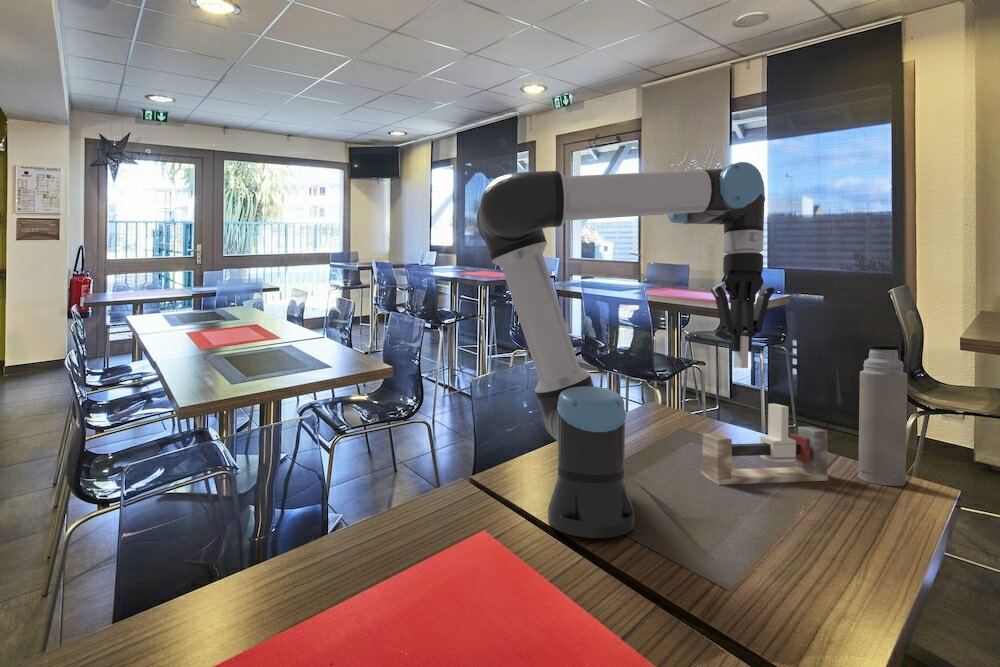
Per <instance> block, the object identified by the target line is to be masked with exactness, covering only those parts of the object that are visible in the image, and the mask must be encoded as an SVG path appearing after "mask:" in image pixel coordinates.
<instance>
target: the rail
mask: <svg viewBox="0 0 1000 667" xmlns="http://www.w3.org/2000/svg"><path fill="white" fill-rule="evenodd" d="M788 438H790V439H793V440H796V461H797V466H789V467H782V466H781V467H763V468H762V467H759V468H758V467H756V468H732V466H733V465H732V460H733V459H732V457H747V456H748V457H749V456H752V457H753V456H760V455H770V444H767V443H736V444H735V443H732V438H730V437H728V436H725V435H723V434H719V433H717V432H710V433H709V432H708V433H707V432H706V433H705V432H704V433H703V432H702V470H700V475H701V474H703V475H704V476H705V477H704V476H703V477H704V478H706V479H708V480H710V481H711V482H713V483H715V484H716V485H719V486H720V485H744V484H745V485H746V484H747V485H749V484H771V483H773V484H774V483H777V484H778V483H797V482H798V483H799V482H821V481H822V482H823V481H829V474H828V430H825V429H821V428H817V427H814V426H797V434H795V433H788Z"/></svg>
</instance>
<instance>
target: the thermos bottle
mask: <svg viewBox="0 0 1000 667" xmlns="http://www.w3.org/2000/svg"><path fill="white" fill-rule="evenodd" d="M899 349H900V348H899V345H892V344H871V345H869V353H868V358H867V359H865V360H864V361H863V364H862V365H863V370H861V371H859V401H858V402H859V406H858V407H859V408H858V409H859V410H858V411H859V412H858V413H859V415H858V421H859V422H858V475H857V476H858V478H859V479H860V480H861V481H863V482H866V483H871V484H873V485H874V484H875V485H881V486H889V487H899V486H900V487H901V486H905V485H906V484H907V435H908V434H907V430H908V428H907V426H908V425H907V424H908V422H907V421H908V373H907V372H904V367H905V365H904V362H903V361H902V360H900V359H899V352H898V350H899Z"/></svg>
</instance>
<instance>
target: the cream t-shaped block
mask: <svg viewBox="0 0 1000 667" xmlns="http://www.w3.org/2000/svg"><path fill="white" fill-rule="evenodd" d="M767 406H768V410H767V417H768V418H767V436H765V435H763V436H761V435H760V440H759V442H760V443H767V444H770V455H759V457H760V458H762V459H764V460H767V461H770V462H771V463H787V462H788V463H790V462H792V463H793V462H796V461H797V460H796V440H793V439H790V438H789V406H787V405H782V404H778V403H768V405H767Z"/></svg>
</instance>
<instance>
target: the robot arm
mask: <svg viewBox="0 0 1000 667" xmlns="http://www.w3.org/2000/svg"><path fill="white" fill-rule="evenodd" d="M765 194H766V193H765V182H764V179H763V176H762V173H761V172H760V170H759V168H757V166H755V165H753V164H752V163H750V162H746V161H737V162H735V163H731V164H729V165H726V167H724V168H709V169H697V170H696V169H694V170H675V171H674V170H673V171H654V172H653V171H652V172H651V171H649V172H631V173H610V174H607V173H606V174H587V175H569V176H568V175H565V174H564V173H563V172H562V171H561V170H544V171H543V170H541V171H540V170H539V171H520V172H519V171H517V172H512V173H506V174H503V175H501V176H498V177H497V178H495V179H494V180H492V181H491V182H490V183H489V184H488V185H487V186H486V188H485V190H483V194H482V196H481V199H480V204H479V207H478V209H477V214H476V226H477V229H478V233H479V235H480V236H481V237H482V240H484V242H485V245H486V249H487V250H488V254H489V256H490V260H491V262H492V264H495V265H497V267H500V269H502V272H503V275H504V279H505V282H506V284H507V288H508V289H509V293H510V296H511V299H512V302H513V305H514V308H515V311H516V315H517V316H518V320H519V323H520V326H521V327H520V328H521V330H522V332H523V334H524V335H523V336H524V338H525V341H526V345H527V347H528V350H529V353H530V356H531V360H532V362H533V366H534V368H535V371H536V374H537V378H538V382H537V384H536V386H535V388H534V393H535V396H536V398H537V401H538V404H539V407H540V419H541V423H542V425H543V427H544V428H545V431H546V432H547V433H548V434H549V435H550V437H551V438H553V439H554V440H555V441H556V442H557V473H558V474H557V479H556V483H555V485H554V488H553V492H552V494H551V495H552V496H551V498H550V501H549V503H548V508H547V522H548V524H549V525H550V526H551V527H552V528H553V529H555V530H557V531H559V532H562V533H563V534H566V535H571V536H574V537H580V538H590V539H592V538H593V539H607V538H616V537H620V536H624V535H626V534H628V533H630V532H631V531H633V530H634V529H635V511H634V507H633V504H632V501H631V498H630V494H629V491H628V489H627V485H626V482H625V450H626V449H625V448H626V447H625V445H626V442H625V438H626V431H625V430H626V417H627V414H626V410H625V400H624V397H623V396H622V395H621V394H620V393H618V392H616V391H614V390H613V389H607V388H603V387H599V386H595V385H594V383H593V379H592V377H591V373H590V371H588V370H585V368H582V367H580V364H579V361H578V359H577V355H576V352H575V349H574V346H573V342H572V340H571V337H570V333H569V331H568V328H567V325H566V321H565V318H564V316H563V312H562V309H561V306H560V303H559V300H558V297H557V294H556V291H555V287H554V285H553V281H552V279H551V276H550V273H549V270H548V266H547V263H546V261H545V257H544V251H545V249H546V248H547V245H548V243H547V239H546V235H545V232H544V229H547V228H557V227H558V228H559V227H562V226H563V225H564V224H565V223H566V222H567V221H579V220H580V221H581V220H594V219H595V220H596V219H598V220H599V219H609V218H610V219H613V218H629V217H643V216H644V217H647V216H660V215H662V216H663V215H666V216H667V218H668V220H669V221H670V222H672V223H673V224H682V225H683V224H684V225H723V248H722V249H723V253H725V255H724V256H722V257H723V258H722V260H723V262H722V264H723V265H722V272H723V277H722V279H721V283H719V284H718V285H716V286H712V287H711V288H710V292H711V294H712V295H713V297H714V298H715V299H714V300H715V304H716V309H717V314H718V319H719V322H720V328H721V331H722V333H724V334H728V336H729V337H730V351H731V352H733V356H734V358H733V367H734V368H739V369H749V353H750V352H751V351H752V349H753V347H752V346H753V337H755V336H756V334H761V333H762V330H763V328H764V323H765V318H766V314H767V310H768V307H769V306H768V305H769V302H770V299H771V297H772V296H773V294H774V292H775V288H774V287H769V286H768V285H766V284H765V282H764V279H763V276H762V273H763V271H764V255H763V254H762V253H761V252H763V251H764V230H765V228H764V227H765V226H764V225H765V202H766V195H765ZM726 293H727V294H728V295H729V296H728V297H727V294H726ZM757 294H758V295H757ZM756 295H757V296H756ZM756 297H757V298H756ZM728 299H729V300H728ZM729 304H730V305H729Z"/></svg>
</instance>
